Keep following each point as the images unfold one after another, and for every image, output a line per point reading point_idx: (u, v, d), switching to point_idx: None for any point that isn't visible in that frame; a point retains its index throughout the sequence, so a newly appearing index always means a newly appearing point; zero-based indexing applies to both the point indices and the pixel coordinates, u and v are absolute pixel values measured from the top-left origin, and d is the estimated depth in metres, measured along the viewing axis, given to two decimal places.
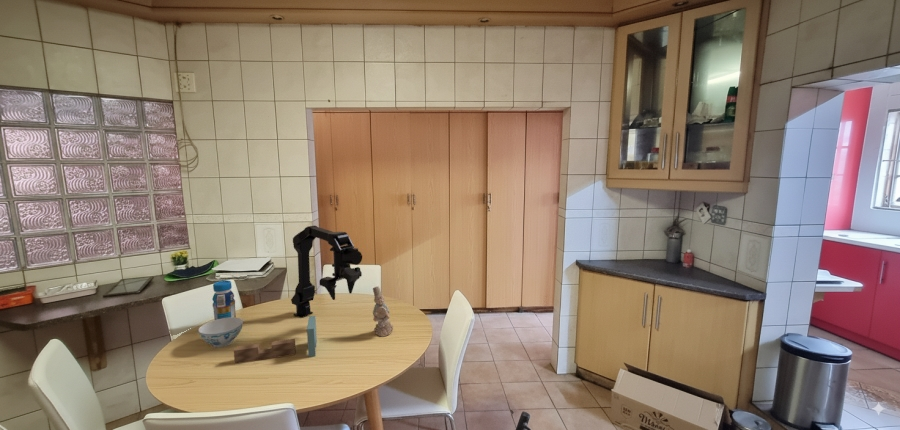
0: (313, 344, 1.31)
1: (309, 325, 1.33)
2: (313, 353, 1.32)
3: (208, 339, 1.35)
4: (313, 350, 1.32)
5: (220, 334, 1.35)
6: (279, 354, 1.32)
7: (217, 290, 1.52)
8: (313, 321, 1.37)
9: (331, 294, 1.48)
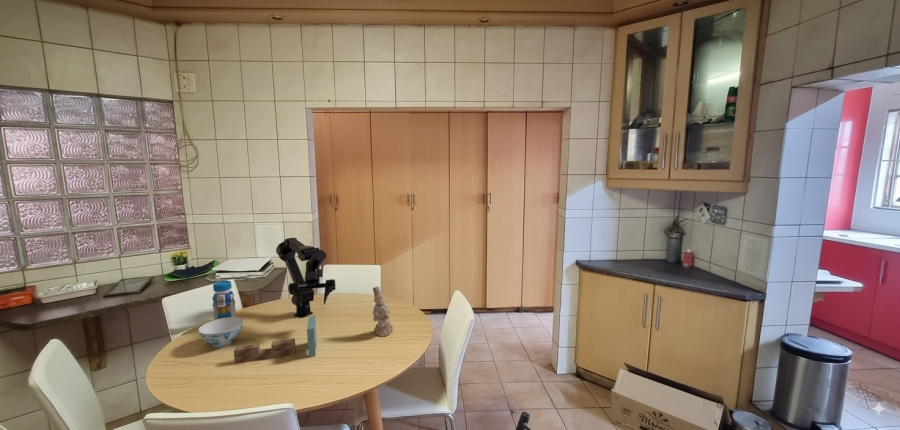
0: (313, 344, 1.31)
1: (309, 325, 1.33)
2: (313, 353, 1.32)
3: (208, 339, 1.35)
4: (313, 350, 1.32)
5: (220, 334, 1.35)
6: (279, 354, 1.32)
7: (217, 290, 1.52)
8: (313, 321, 1.37)
9: (298, 301, 1.47)
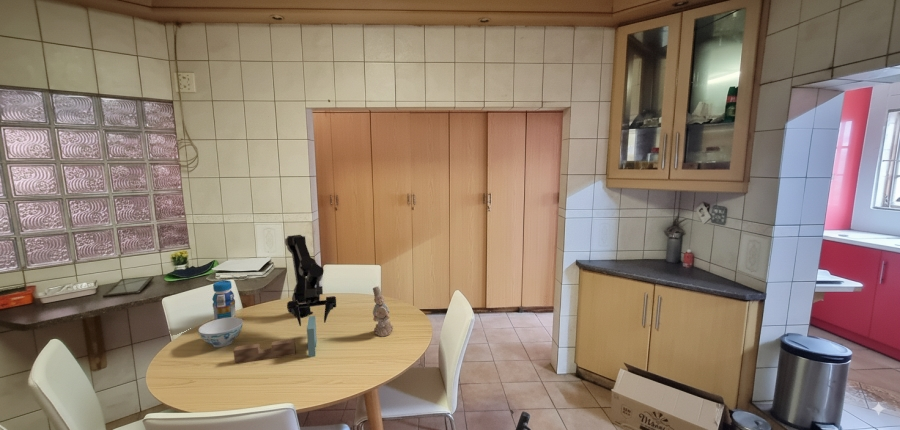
0: (313, 344, 1.31)
1: (309, 325, 1.33)
2: (313, 353, 1.32)
3: (208, 339, 1.35)
4: (313, 350, 1.32)
5: (220, 334, 1.35)
6: (279, 354, 1.32)
7: (217, 290, 1.52)
8: (313, 321, 1.37)
9: (297, 319, 1.41)
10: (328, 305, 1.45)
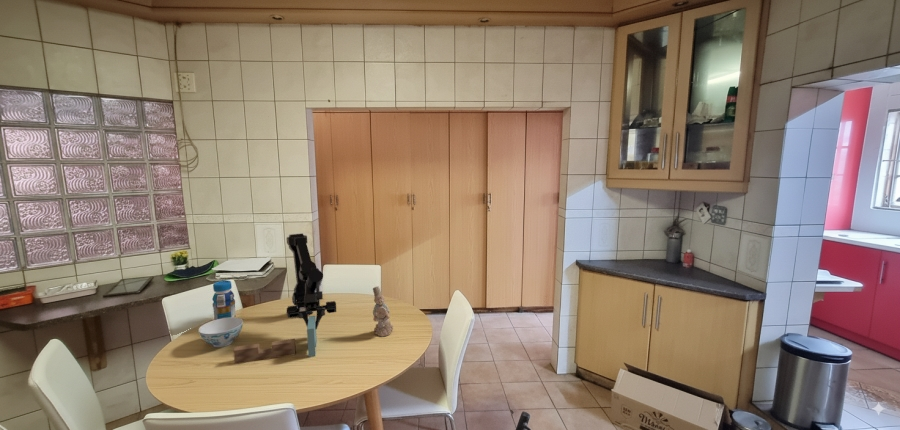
0: (313, 344, 1.31)
1: (309, 325, 1.33)
2: (313, 353, 1.32)
3: (208, 339, 1.35)
4: (313, 350, 1.32)
5: (220, 334, 1.35)
6: (279, 354, 1.32)
7: (217, 290, 1.52)
8: (313, 321, 1.37)
9: (306, 324, 1.40)
10: (320, 311, 1.42)
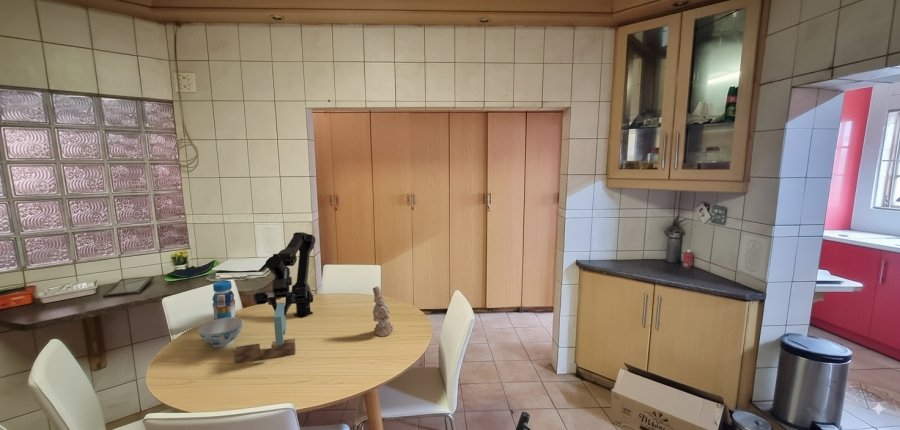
0: (281, 332, 1.28)
1: (276, 313, 1.29)
2: (281, 341, 1.28)
3: (208, 339, 1.35)
4: (281, 338, 1.28)
5: (220, 334, 1.35)
6: (279, 354, 1.32)
7: (217, 290, 1.52)
8: (281, 308, 1.33)
9: (274, 310, 1.36)
10: (289, 297, 1.38)
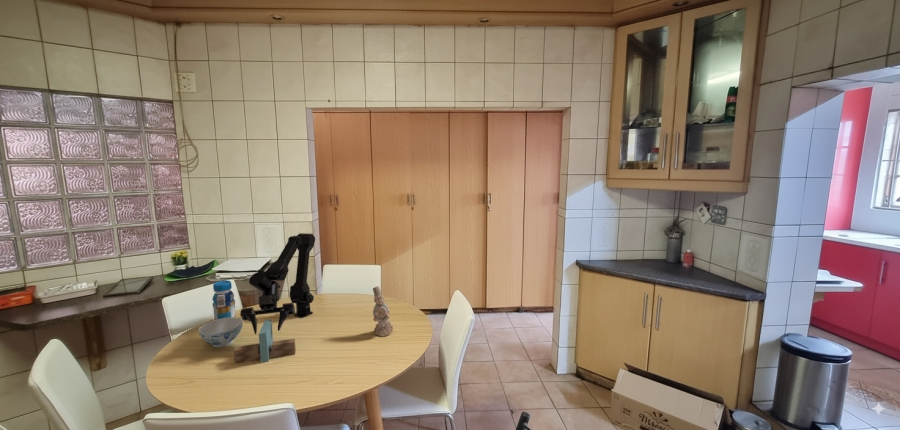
0: (266, 349, 1.28)
1: (262, 329, 1.30)
2: (266, 358, 1.28)
3: (208, 339, 1.35)
4: (266, 355, 1.28)
5: (220, 334, 1.35)
6: (279, 354, 1.32)
7: (217, 290, 1.52)
8: (267, 325, 1.33)
9: (253, 327, 1.35)
10: (283, 312, 1.39)
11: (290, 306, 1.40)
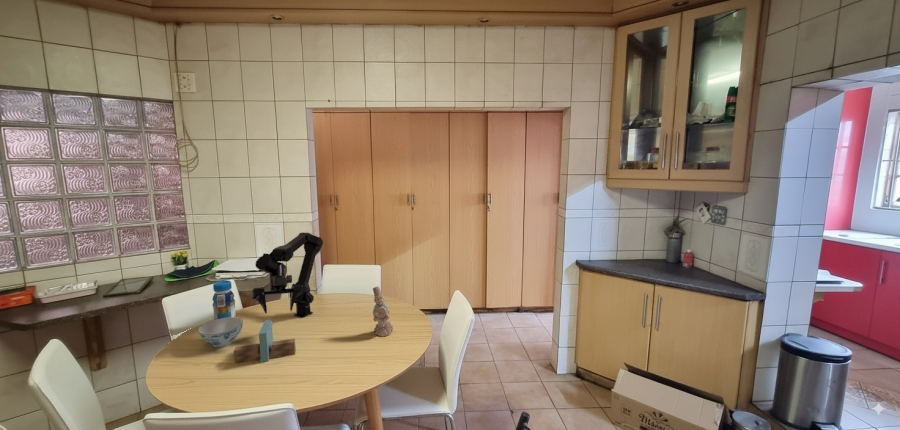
0: (266, 349, 1.28)
1: (262, 329, 1.30)
2: (266, 358, 1.28)
3: (208, 339, 1.35)
4: (266, 355, 1.28)
5: (220, 334, 1.35)
6: (279, 354, 1.32)
7: (217, 290, 1.52)
8: (267, 325, 1.33)
9: (263, 307, 1.40)
10: (295, 294, 1.46)
11: (301, 288, 1.48)
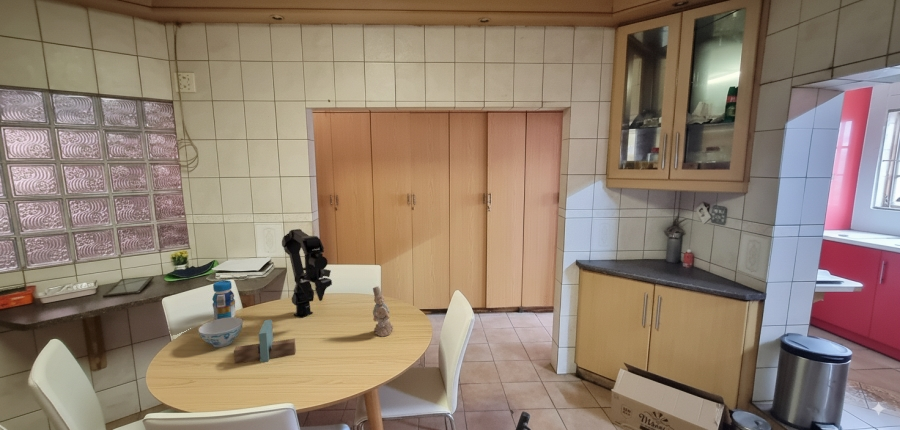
0: (266, 349, 1.28)
1: (262, 329, 1.30)
2: (266, 358, 1.28)
3: (208, 339, 1.35)
4: (266, 355, 1.28)
5: (220, 334, 1.35)
6: (279, 354, 1.32)
7: (217, 290, 1.52)
8: (268, 325, 1.33)
9: (321, 295, 1.55)
10: None
11: None
